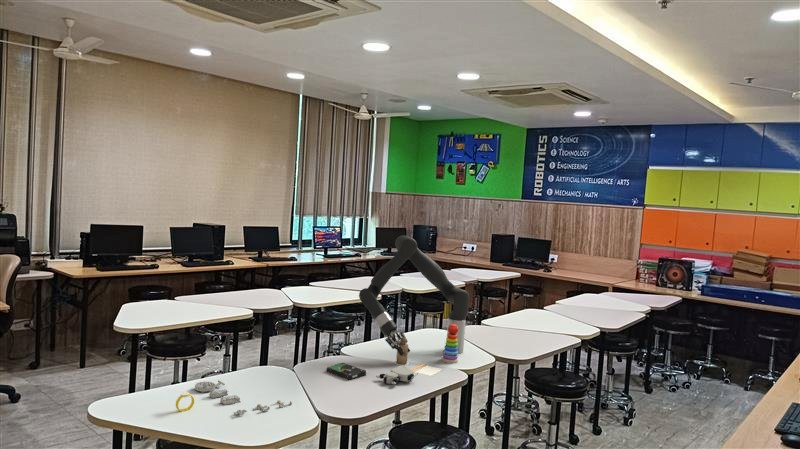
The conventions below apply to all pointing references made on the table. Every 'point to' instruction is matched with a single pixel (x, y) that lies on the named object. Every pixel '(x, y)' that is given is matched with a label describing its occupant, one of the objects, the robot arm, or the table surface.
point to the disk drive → (346, 371)
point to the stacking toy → (451, 345)
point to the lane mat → (424, 369)
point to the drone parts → (230, 401)
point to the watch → (182, 397)
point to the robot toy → (397, 375)
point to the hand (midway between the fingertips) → (405, 353)
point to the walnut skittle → (403, 359)
